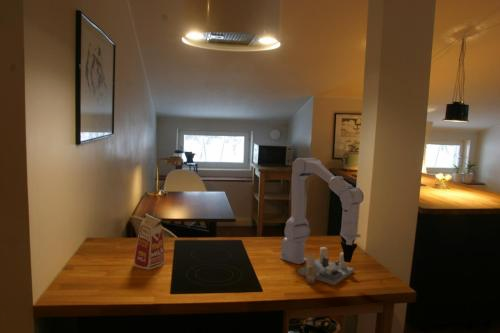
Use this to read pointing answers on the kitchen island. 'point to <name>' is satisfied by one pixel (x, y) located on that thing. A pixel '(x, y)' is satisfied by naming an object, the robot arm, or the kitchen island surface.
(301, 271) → the board
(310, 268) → the leg peg
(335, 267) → the bar
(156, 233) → the milk carton
